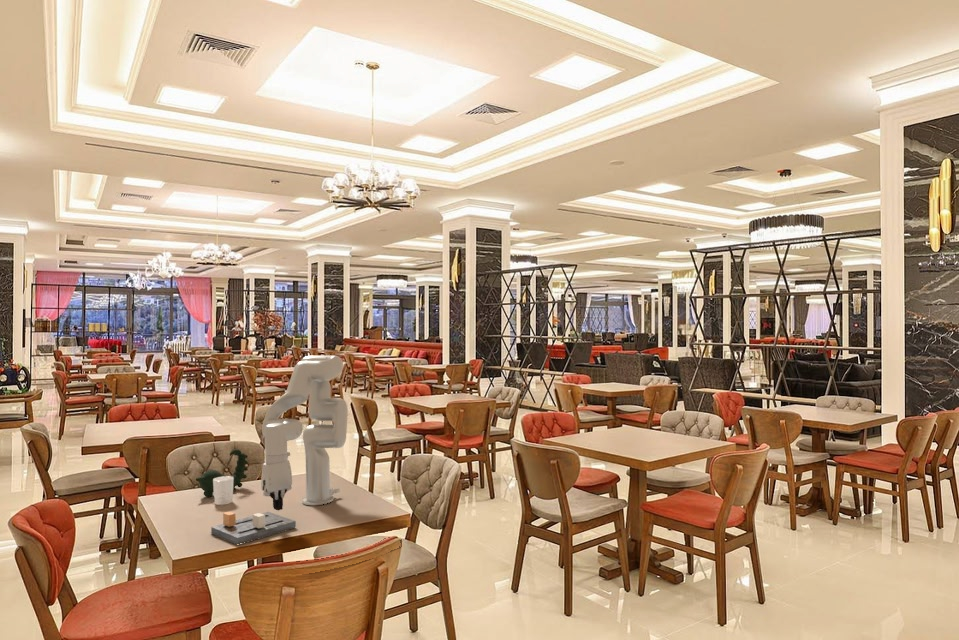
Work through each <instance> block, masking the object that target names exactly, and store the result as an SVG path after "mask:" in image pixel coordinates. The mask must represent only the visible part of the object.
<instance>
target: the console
mask: <svg viewBox="0 0 959 640" xmlns="http://www.w3.org/2000/svg"><path fill="white" fill-rule="evenodd" d="M261 514H263V515H265V527H262V528H259V529H257V528H256V527H254V526H253V515H251V516H248V517H244V518H240V519H236V525H234V526H230V527H227V526H226V525H223V523H221V524H217V525H214V526H211V527H210V528H211V532H210V534H211V535H212V536H214V537H217V538H220V539H222V540H224V541H226V542H229V543H231V542H232V543H231V544H233V543H235V544H234V545H236V544H240V543H244V542H247V541H251V540H254V541H256V540H255V539H258V538H261V539H263V538H262V537H264V538H267V537H266V536H268V537H270V536H269V535H271V536H273V535H272V534H274V535H277V534H276V533H278V534H280V533H279V532H281V533H283V532H282V531H284V532H286V531H285V530H288V531H290V530H289V529H291V530H293V529H292V528H294V529H296V528H295V527H297V526H296V525H297V524H296V520H293V519H291V518H288V517H284V516H282V515H278V514H276V513H272V512H269V511H267V512H262V513H261ZM258 540H259V539H258ZM251 542H252V541H251ZM244 544H245V543H244Z"/></svg>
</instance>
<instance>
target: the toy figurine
mask: <svg viewBox="0 0 959 640" xmlns="http://www.w3.org/2000/svg"><path fill="white" fill-rule="evenodd" d="M232 455H236V456H237V460H236V466H235V469H234V470H235V471H234V472H233V474H231V475H230V476H231V477H234V480H233V493H234V492H235V491H236V487H237V488H242V486H243V482H241V480H242V479H247V477H248V476H247V474H245V472H246V471H248V470H249V469H248V467H246V465H247V464H248V463H249V462H248V460H246V459H248V455H247V454H246V453H245V452H244V453H243V452H242V451H241V450H240V449H237V448H235V449H232V450H231V451H230V453H229V456H232ZM223 476H226V475H224V474H223V473H221V472H220V471H219V470H217V469H209V470H206V471H205V472H203V473H202V475H200V477H197V478H195V480H196V481H197V482H198V484H199V488H200V489H201V490H203V496H205V497H206V498H210V497H213V496H214V490H213V479H214V478H217V477H223Z"/></svg>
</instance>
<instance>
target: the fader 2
mask: <svg viewBox="0 0 959 640" xmlns="http://www.w3.org/2000/svg"><path fill="white" fill-rule="evenodd" d="M252 516H253V526H254V527H256V528H257V529H259V528H262V527H265V515H263V514H262V513H260V512H257V513H254V514H252Z"/></svg>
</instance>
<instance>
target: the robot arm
mask: <svg viewBox="0 0 959 640" xmlns="http://www.w3.org/2000/svg"><path fill="white" fill-rule="evenodd" d="M343 368H344V365H343V360H342V358H341V357H340V356H338V355H332V354H331V355H328V354H327V355H319V354H318V355H316V354H315V355H312V354H311V355H307V356H304V357H302V358H301V361H299V362H297V363H296V364H295V365H294V368H293V371H292V374H291V377H290V379H289V383H288V386H287V387H286V388H287V389H286V391H285V393H283V394H282V395H281V396H280V397H278V398H277V399H276V400H275V401H274V402H273V403H272V404H271V405H270V406H269V408H268V409H267V410H266V413H265V416H264V419H263V421H262V422H263V423H262V426H261V433H262V435H263V437H264V454H265V455H264V456H265V457H264V458H265V462H264V463H263V464H262V468H261V480H260V488H261V491H263V493H262V495H263V496H264V497H270V498H271V499H272V506H273V509H274V510H276V511H280V510H283V509H284V508H283V506H284V498H285V495H286V493H287V492H288V491H291V490H292V486H293V485H292V484H293V474H292V468H291V463H290V460H289V457H290V456H291V453H290V452H289V451H288V441H293V440H294V441H295V440H298V438H299V437H300V436H301V435H302V441H303V442H302V443H303V446H304V451H305V452H304V455H305V497H304V498H302V500H301V503H302V504H304V505H306V506H321V505H322V506H323V504H324V505H327V503H328V504H330V502H331V503H333V501H334V500H335V497H334V496H333V495H334V494H338V493H340V490H341V489H340V488H339V487H336V488H332V487H331V479H330V478H331V477H330V476H331V474H330V470H331V469H330V456H329V453H328V451H327V450H326V449H341V448H343V447H344V445H345V444H346V440H347V432H348V431H347V429H348V415H349V413H348V409H349V408H348V404H347V402H346V400H345V399H343V398H341V397H331V394H332V392H331V391H332V390H331V389H332V387H331V383H330V381H332V380H333V379H335V378H337V377H338V376H339V375H340V374H341V373H342V371H343ZM307 401H308V416H309V419H310V420H312V421H316V422H333V424H324V423H322V424H321V423H318V424H317V423H315V424H310V425H307V426H306V427H305V428H304V429H303V424H302V422H301V421H300V420H298V419H294V418H280V417H281V415H282V414H283V413H285V412H286V411H288V410H290V409H293V408H296V407H298V406H300V405H302V404H305V403H306V402H307Z"/></svg>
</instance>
